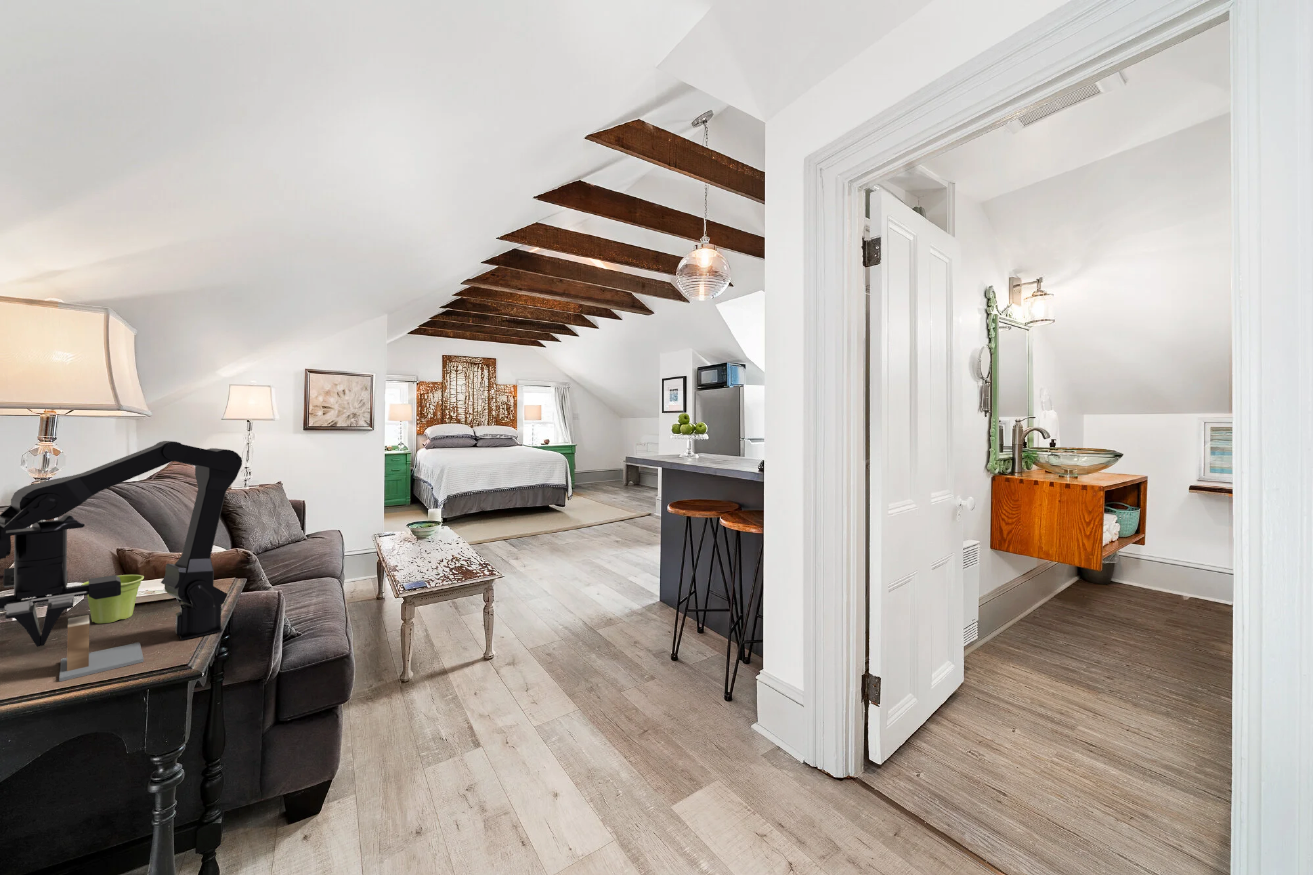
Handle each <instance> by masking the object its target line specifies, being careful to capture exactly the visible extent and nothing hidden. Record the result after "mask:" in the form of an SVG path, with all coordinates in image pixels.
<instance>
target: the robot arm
mask: <svg viewBox="0 0 1313 875" xmlns="http://www.w3.org/2000/svg"><path fill="white" fill-rule="evenodd" d="M173 462H175V463H181V464H183V465H184V464H185V465H188V466H194V476H195V480H196V485H197V492H196V496H195V500H194V505H193V509H192V513H191V517H190V521H189V525H188V530H187V532H186V533H187V534H186V537H185V540H184V541H185V542H184V545H183V551H182V554H181V555H180V557H179V558H178V559H177V561H176V562H175V563H166V565H165V574H164V577H163V578H162V580H161V581H160V583H161V584H162V585H164V587H163V588H164V591H165V593H167V594H168V595H169V596H171V597H174V598H176V601H177V602H178V603H179V612H176V613H175V634H176V636H178V637H179V638H180V640H182V641H185V640H189V639H192V638H193V639H194V638H197V637H198V638H199V637H202V636H207V635H211V634H216V633H221V632H223V631H224V628H223V627H222V605H223V604H224V603H225V601H226V599H227V597H228V593H226V591H223V590H222V589H220V588H218V587H216V586H214V582H215V579H214V578H215V577H214V576H215V572H214V571H215V570H214V566H213V562H212V551H213V547H214V543H215V539H216V535H217V530H218V527H219V523H220V518H221V514H222V510H223V507H224V502H225V497H226V493H227V491H228V490H229V488H230V487H231V486H232V484H233V483H234V482H235V481H236V479H237V477H238V475H239V472H240V471H241V469H242V466H243V459H242V457H241V456H240V455H239V453H238V452H236V451H234V450H231V449H225V448H216V447H215V448H213V447H211V448H202V447H201V448H200V447H196V446H191V445H187V444H183V443H181V442H178V441H173V440H162V441H159V442H157V443H156V444H154V445H152V446H149V447H147V448H144V449H142V450H139V451H136V452H134V453H131V454H128V455H126V456H124V457H120V458H117V459H115V460H112V461H110V462H108V463H105V464H102V465H99V466H98V467H94V468H92V469H89V470H87V471H84V472H81V473H78V474H77V473H76V474H73V475H68V476H64V477H58V478H53V479H49V480H45V481H41V482H38V483H34V484H29V485H25V486H24V487H21V488H20V489H17V490H16V491H15V492H13V495H12V497H11V499H10V505H9V506H8V507H6V508H5V509H4V510H3V511H2V512H1V513H0V560H2V559H6V558H7V557H8V556H10V555H11V550H12V540H11V539H12V538H11V536H13V538H14V541H13V543H14V546H13V549H14V550H13V554H14V555H13V567H9V568H8V567H7V568H4V569H3V579H2V580H3V581H2V584H3V585H2V586H3V587H4V588H5V589H6V588H11V587H13V594H12V595H5V596H0V609H4V611H6V612H5V614H4V619H6V620H7V619H8V620H9V619H14V620H16V621H17V623H19V624H20V625H21V626H22V627H23V629H25V631H26V632H27V633H28V635H29V636H30V638H31V640H32V641H33V643H34V644H35V646H36V647H37V648H38V647H43V646H45V644H46V642H47V640H48V638H49V636H50V634H51V632H52V630H53V627H54V626H55V624H56V622H57V621H58V620H59V618H60V616H62V614H63V612H64V611H65V610H68V609H72V608H74V600H75V597H81V596H87V595H89V597H91V598H93V599H95V600H96V599H102V598H108V597H114V596H118V595H121V581H120V577H118V576H119V575H116V574H113V575H108V576H100V577H99V576H98V577H93V578H92V577H91V578H88V581H89V584H86V585H82V584H81V585H73V586H72V585H71V586H68V577H69V576H68V574H69V573H68V569H67V568H68V566H67V565H68V563H67V562H68V555H67V554H68V530H72V529H74V530H75V529H82V528H85V524H84V523H82V522H80V521H78V520H77V519H76V518H74V517H73V515H71V514H67V513H69V512H70V511H72V510H74V509H76V508H77V507H79V506H81V505H82V504H83V503H85V502H87V501H88V500H89V499H90V498H92V497H94V496H95V495H97V494H98V493H100V492H103V491H104V490H106V489H110V488H112V487H114V486H117V485H119V484H121V483H124V482H126V481H128V480H131V479H133V478H134V479H135V478H136V477H139V476H141V475H144V474H145V473H147V472H151V471H153V470H155V469H157V468H159V467H162V466H165V465H167V464H169V463H173ZM59 517H60V518H59ZM57 518H59V519H57ZM44 602H47V606H46V612H45V616H44V621H43V626H42V629H41V630H40V624H39V621H38V620H39V619H38V615H37V609H36V608H37V607H36V603H38V604H39V603H44ZM180 603H181V604H180Z"/></svg>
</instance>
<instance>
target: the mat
mask: <svg viewBox="0 0 1313 875" xmlns="http://www.w3.org/2000/svg"><path fill="white" fill-rule="evenodd" d="M140 663H144V655H143V650H142V647H141V642H134V643H129V644H125V645H124V644H123V645H120V646H115V647H111V648H106V649H100V650H95V651H91V652H89V666H88V667H84V668H79V669H75V670H71V671H67V657H64V658H60V667H59V678H58V679H59V680H58V681H59V682H64V681H68V680H72V679H76V678H81V677H85V676H89V675H93V674H97V673H101V672H106V671H110V670H114V669H118V668H123V667H126V666H127V667H128V666H130V665H135V664H140Z"/></svg>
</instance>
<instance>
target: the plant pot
mask: <svg viewBox="0 0 1313 875" xmlns="http://www.w3.org/2000/svg"><path fill="white" fill-rule="evenodd" d="M117 576H118V577H120V581H121V595H118V596H114V597H108V598H102V599H96V600H95V599H93V598H91V597H89V595H86V597H87V602H88V607H89V614H90V619H91V622H92V623H95V624H109V623H114V622H116V621H118V620H119V621H120V620H126V619H129V618H131V617H132V616H133V614H134V609H135V604H136V600H137V596H138V593H139V592H138V591H139V587H140V586H141V584H142V581H143V580H144V578H145V576H144V575H141V574H123V575H122V574H120V575H117ZM86 584H89V580H88V581H85V582H83V583H82V584H81V585H86Z"/></svg>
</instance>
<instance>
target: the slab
mask: <svg viewBox="0 0 1313 875" xmlns="http://www.w3.org/2000/svg"><path fill="white" fill-rule="evenodd" d="M66 638H67V644H66V645H67V646H66V649H67V650H66V658H67V671H71V670H75V669H79V668H84V667H88V666H89V653H90V615H89V614H87V615H86V614H85V615H82V616H81V615H80V616H76V617H75V616H74V617H69V618H67V637H66Z"/></svg>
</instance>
